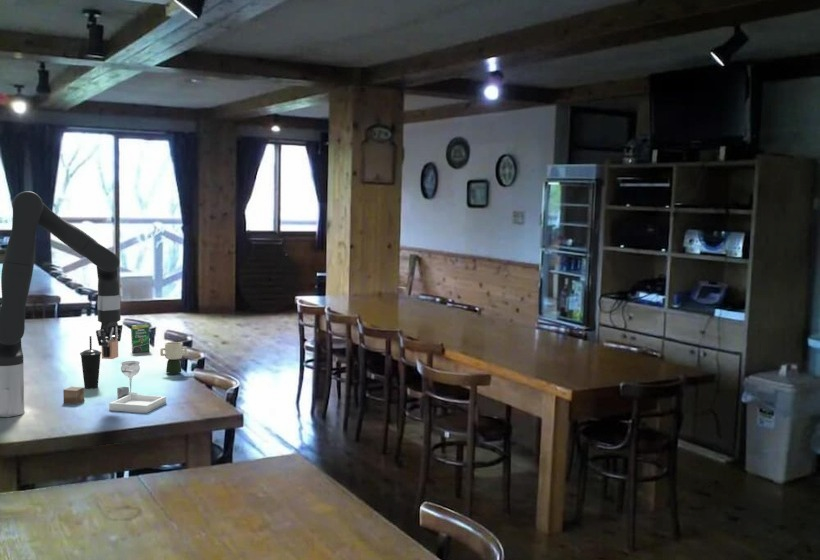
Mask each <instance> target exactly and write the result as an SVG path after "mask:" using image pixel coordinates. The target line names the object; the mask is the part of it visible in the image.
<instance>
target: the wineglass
mask: <svg viewBox="0 0 820 560" xmlns="http://www.w3.org/2000/svg"><path fill="white" fill-rule="evenodd" d="M120 364H121V367H120V372H121V373H122V374H123V375H124V376H127V377H128V378H129V394H138V393H137V392H133V391H132V379H133V377H134V376H136V375H137V374H138V373H139V372H140V369H141V366H140V361H137V360H128V361H122V362H121V363H120Z"/></svg>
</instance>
